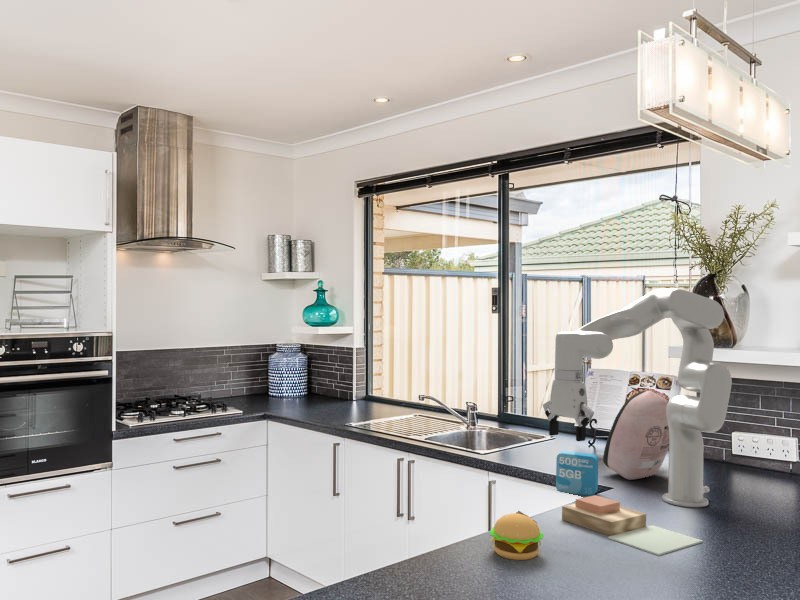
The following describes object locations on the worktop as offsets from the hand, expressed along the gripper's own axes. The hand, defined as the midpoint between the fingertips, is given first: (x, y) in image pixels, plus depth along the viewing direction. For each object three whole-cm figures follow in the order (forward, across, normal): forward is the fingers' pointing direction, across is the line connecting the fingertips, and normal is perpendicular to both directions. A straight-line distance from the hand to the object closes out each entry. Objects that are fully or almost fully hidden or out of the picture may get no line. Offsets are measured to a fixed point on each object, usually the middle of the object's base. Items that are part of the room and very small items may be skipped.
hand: (567, 437), depth 191 cm
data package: (+21, +12, -20) cm, 31 cm away
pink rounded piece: (+21, +14, -54) cm, 59 cm away
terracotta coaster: (+17, -11, 0) cm, 20 cm away
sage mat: (+20, -28, 0) cm, 35 cm away
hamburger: (+21, -16, +36) cm, 45 cm away
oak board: (+20, -13, 0) cm, 24 cm away
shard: (+21, 0, +19) cm, 28 cm away
